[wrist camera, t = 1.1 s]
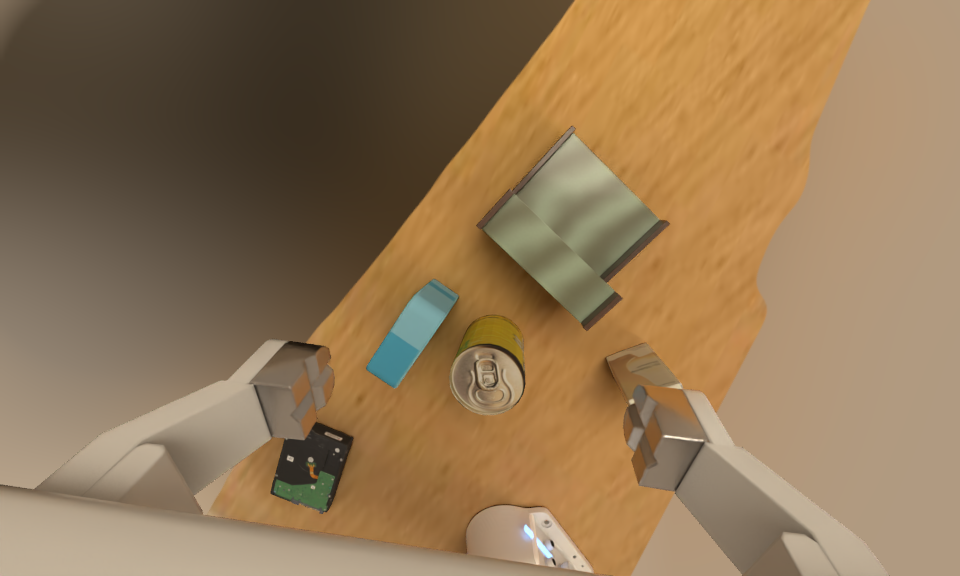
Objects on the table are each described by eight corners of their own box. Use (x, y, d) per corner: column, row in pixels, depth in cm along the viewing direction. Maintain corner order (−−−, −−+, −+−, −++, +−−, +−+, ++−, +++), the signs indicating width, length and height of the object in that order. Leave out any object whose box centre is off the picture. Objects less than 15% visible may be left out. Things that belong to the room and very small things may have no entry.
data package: (435, 276, 53) (412, 295, 41) (461, 293, 53) (445, 317, 41) (394, 338, 56) (361, 373, 44) (418, 355, 56) (392, 394, 44)
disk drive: (297, 412, 60) (279, 483, 64) (287, 422, 58) (268, 495, 61) (355, 434, 60) (333, 504, 63) (347, 445, 57) (325, 517, 61)
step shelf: (651, 222, 48) (702, 227, 35) (569, 299, 51) (587, 331, 38) (565, 135, 47) (584, 107, 34) (486, 221, 50) (476, 225, 37)
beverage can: (470, 375, 56) (458, 419, 44) (458, 320, 54) (441, 351, 42) (528, 366, 54) (531, 410, 43) (517, 310, 53) (517, 339, 41)
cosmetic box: (646, 341, 52) (684, 381, 40) (656, 367, 52) (697, 414, 40) (602, 357, 53) (627, 400, 41) (613, 382, 53) (641, 432, 42)
